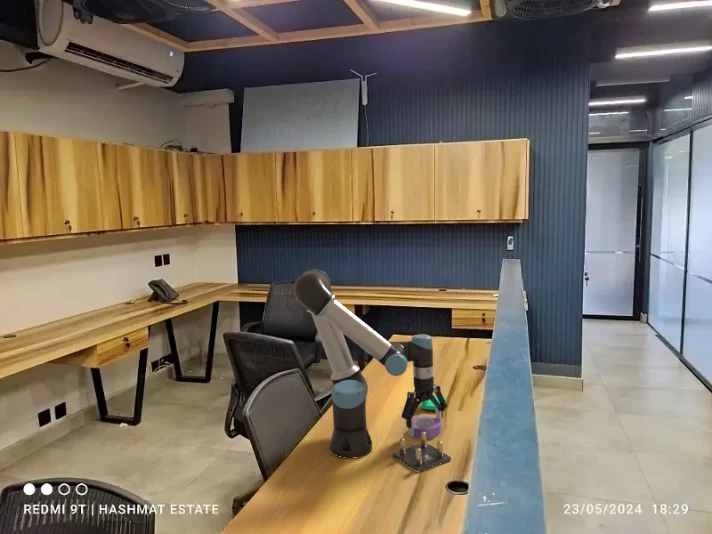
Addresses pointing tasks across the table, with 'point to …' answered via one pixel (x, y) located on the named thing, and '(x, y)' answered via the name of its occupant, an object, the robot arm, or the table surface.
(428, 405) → the camera mount
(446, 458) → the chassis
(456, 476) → the table surface
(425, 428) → the masking tape
